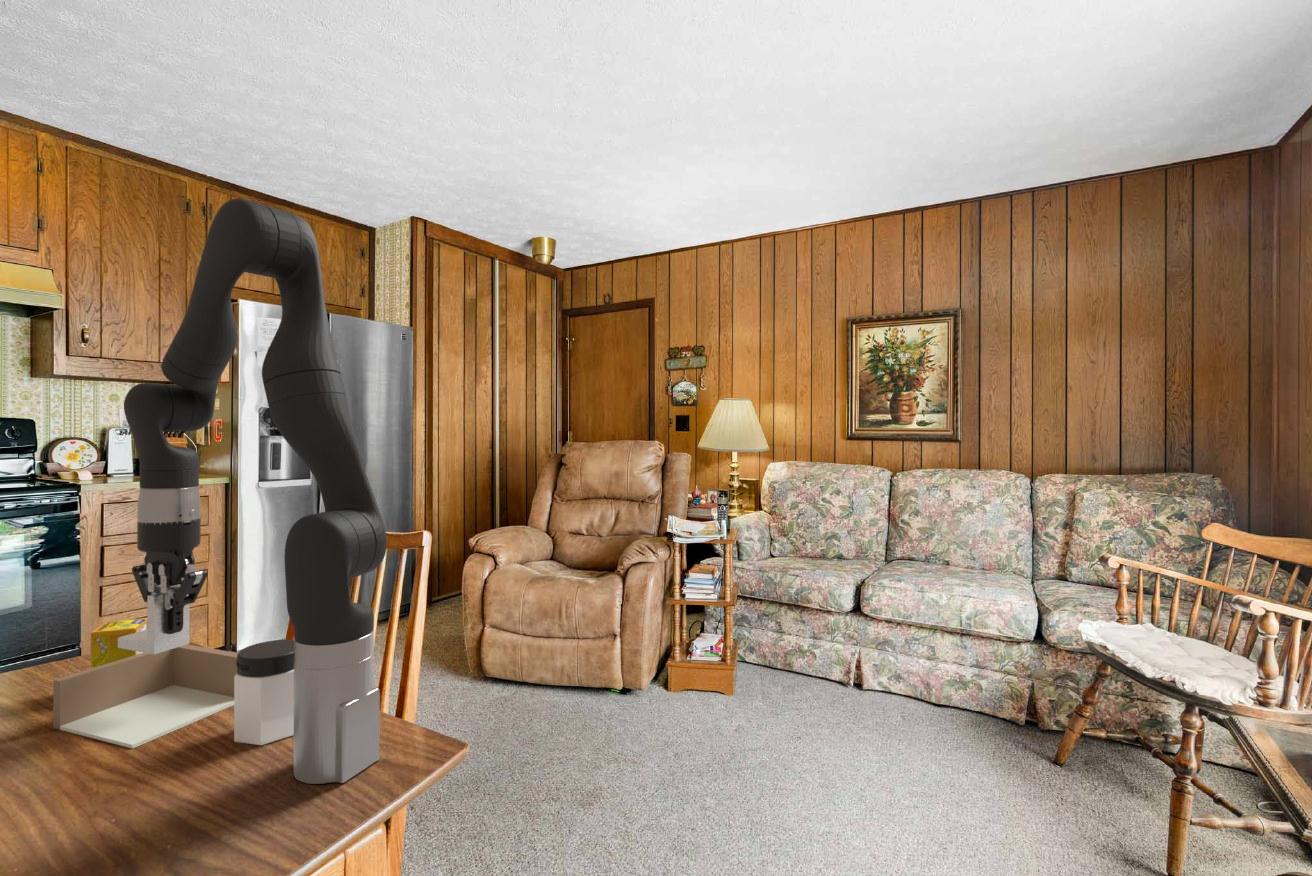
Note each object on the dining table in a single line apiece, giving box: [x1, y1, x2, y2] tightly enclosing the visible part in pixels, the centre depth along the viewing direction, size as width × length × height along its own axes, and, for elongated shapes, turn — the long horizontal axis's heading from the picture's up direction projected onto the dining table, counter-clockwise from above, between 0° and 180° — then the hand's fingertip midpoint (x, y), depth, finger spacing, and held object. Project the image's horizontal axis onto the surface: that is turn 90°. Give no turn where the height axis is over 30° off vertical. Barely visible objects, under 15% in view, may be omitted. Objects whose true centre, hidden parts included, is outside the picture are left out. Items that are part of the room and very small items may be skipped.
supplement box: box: [90, 617, 147, 669], centre depth 103 cm, size 6×6×11 cm
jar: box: [233, 639, 294, 746], centre depth 90 cm, size 9×8×12 cm
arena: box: [52, 644, 239, 749], centre depth 95 cm, size 17×17×7 cm
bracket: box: [118, 593, 191, 654], centre depth 95 cm, size 8×5×8 cm, turn 71°
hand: (169, 631), depth 94 cm, fingers closed on bracket, 1 cm apart
